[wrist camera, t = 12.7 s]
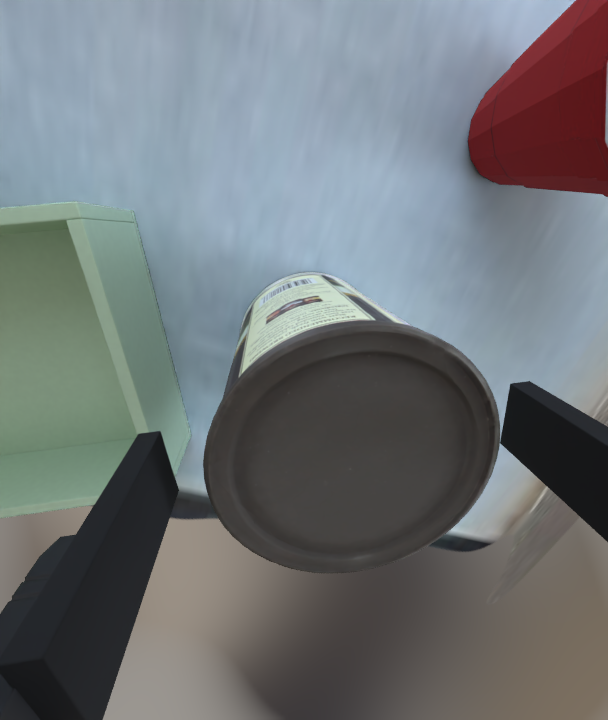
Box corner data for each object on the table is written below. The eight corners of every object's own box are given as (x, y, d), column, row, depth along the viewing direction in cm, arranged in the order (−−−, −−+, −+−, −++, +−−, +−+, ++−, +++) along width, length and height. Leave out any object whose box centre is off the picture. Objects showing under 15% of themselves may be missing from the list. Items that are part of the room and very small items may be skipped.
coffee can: (313, 426, 27) (354, 609, 14) (210, 349, 24) (137, 494, 11) (405, 335, 25) (557, 451, 12) (306, 237, 21) (363, 245, 8)
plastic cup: (507, 259, 23) (723, 283, 12) (395, 159, 20) (547, 71, 9) (629, 111, 21) (1048, -31, 10) (520, -30, 18) (950, -479, 7)
